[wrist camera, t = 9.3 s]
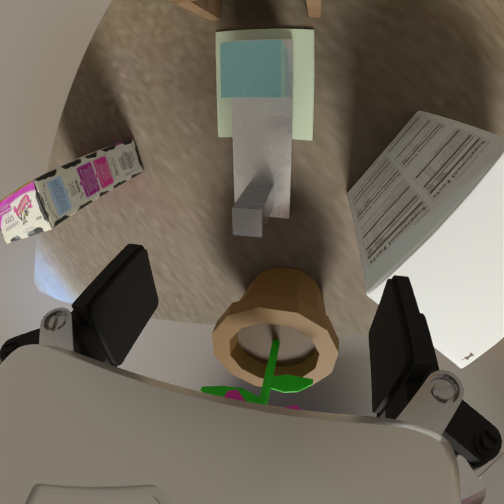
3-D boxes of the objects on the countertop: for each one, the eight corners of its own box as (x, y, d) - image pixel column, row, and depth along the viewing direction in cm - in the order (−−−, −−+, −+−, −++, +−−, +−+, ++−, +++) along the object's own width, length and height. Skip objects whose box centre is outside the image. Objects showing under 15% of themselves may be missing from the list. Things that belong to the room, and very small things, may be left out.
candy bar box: (133, 134, 32) (32, 178, 19) (145, 171, 35) (54, 231, 21) (76, 160, 36) (-12, 207, 22) (87, 191, 38) (5, 247, 24)
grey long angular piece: (233, 42, 24) (205, 28, 18) (293, 40, 23) (284, 24, 17) (237, 210, 34) (215, 244, 27) (289, 214, 33) (280, 251, 26)
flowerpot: (333, 246, 35) (317, 532, 10) (340, 331, 41) (324, 541, 16) (221, 257, 39) (105, 481, 14) (247, 335, 46) (186, 521, 21)
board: (216, 32, 25) (215, 32, 24) (314, 30, 23) (314, 29, 22) (219, 136, 31) (218, 137, 30) (312, 139, 29) (312, 140, 29)
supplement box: (488, 188, 26) (574, 269, 12) (419, 261, 33) (460, 372, 18) (418, 106, 24) (513, 134, 10) (343, 194, 31) (361, 296, 17)
